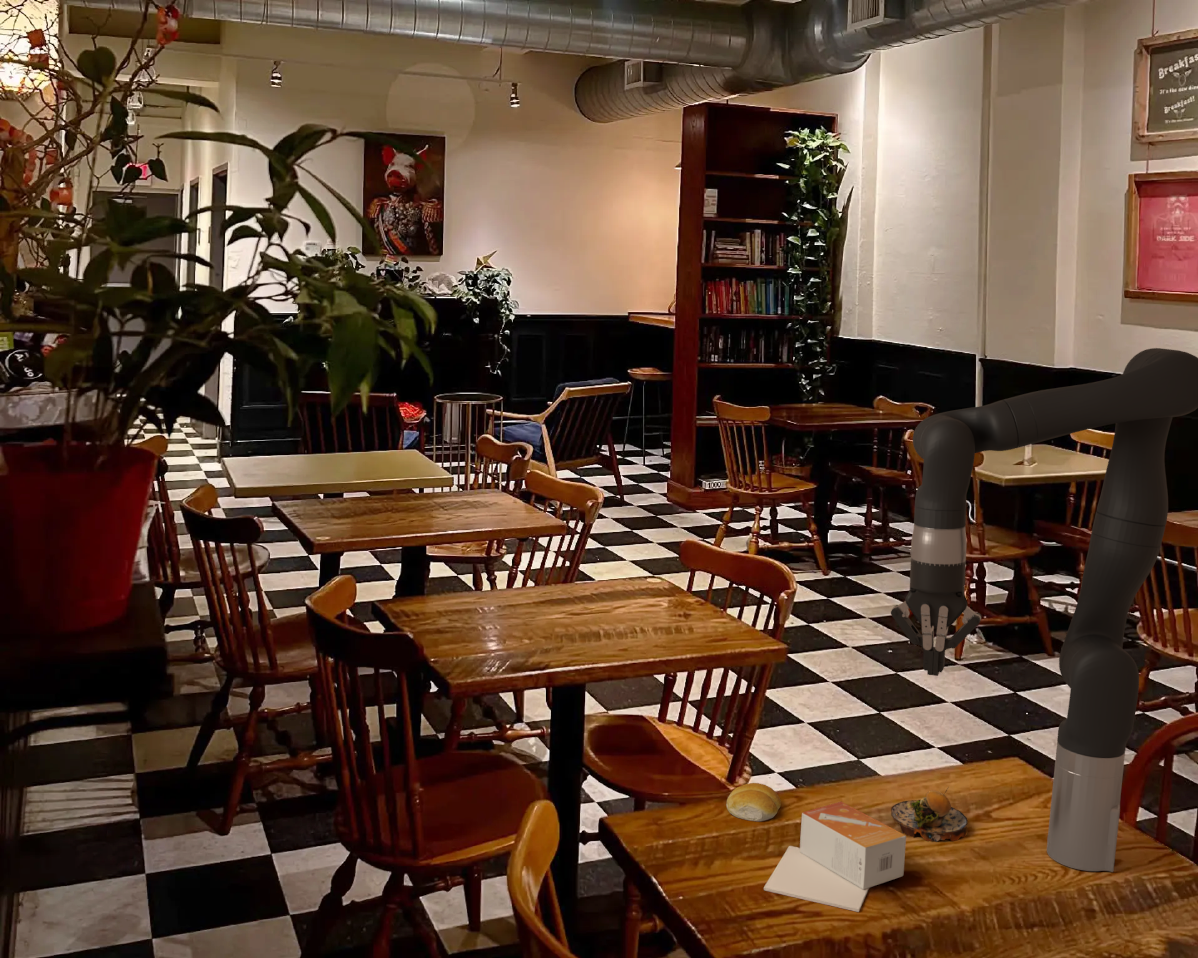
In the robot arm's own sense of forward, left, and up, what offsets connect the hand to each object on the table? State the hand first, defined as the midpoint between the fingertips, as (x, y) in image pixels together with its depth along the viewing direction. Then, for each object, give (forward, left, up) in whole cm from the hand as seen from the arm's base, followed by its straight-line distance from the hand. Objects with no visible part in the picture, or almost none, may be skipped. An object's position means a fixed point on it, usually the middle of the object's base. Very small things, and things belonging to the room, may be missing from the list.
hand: (933, 673), depth 172 cm
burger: (0, -10, -28) cm, 30 cm away
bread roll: (+26, -3, -28) cm, 38 cm away
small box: (+3, +13, -24) cm, 27 cm away
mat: (+11, +15, -28) cm, 33 cm away
